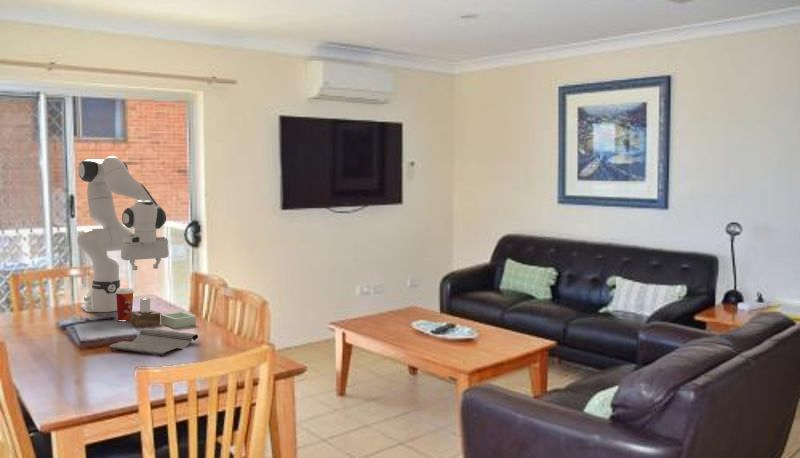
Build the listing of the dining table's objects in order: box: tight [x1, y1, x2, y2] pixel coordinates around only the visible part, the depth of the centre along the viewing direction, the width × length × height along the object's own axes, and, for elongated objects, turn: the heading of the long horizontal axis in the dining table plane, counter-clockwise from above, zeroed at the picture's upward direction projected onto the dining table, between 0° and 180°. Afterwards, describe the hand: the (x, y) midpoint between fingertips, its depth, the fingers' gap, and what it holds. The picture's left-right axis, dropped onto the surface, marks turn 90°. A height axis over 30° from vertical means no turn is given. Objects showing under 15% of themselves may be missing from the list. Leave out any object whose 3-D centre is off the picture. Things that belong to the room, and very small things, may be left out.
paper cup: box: [115, 287, 135, 322], centre depth 296 cm, size 8×8×14 cm
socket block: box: [129, 309, 161, 328], centre depth 290 cm, size 9×9×5 cm
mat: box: [108, 327, 199, 358], centre depth 253 cm, size 23×24×5 cm
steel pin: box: [139, 297, 151, 314], centre depth 290 cm, size 4×4×11 cm
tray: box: [160, 311, 197, 329], centre depth 292 cm, size 12×10×4 cm
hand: (145, 269), depth 289 cm, fingers open, 8 cm apart
